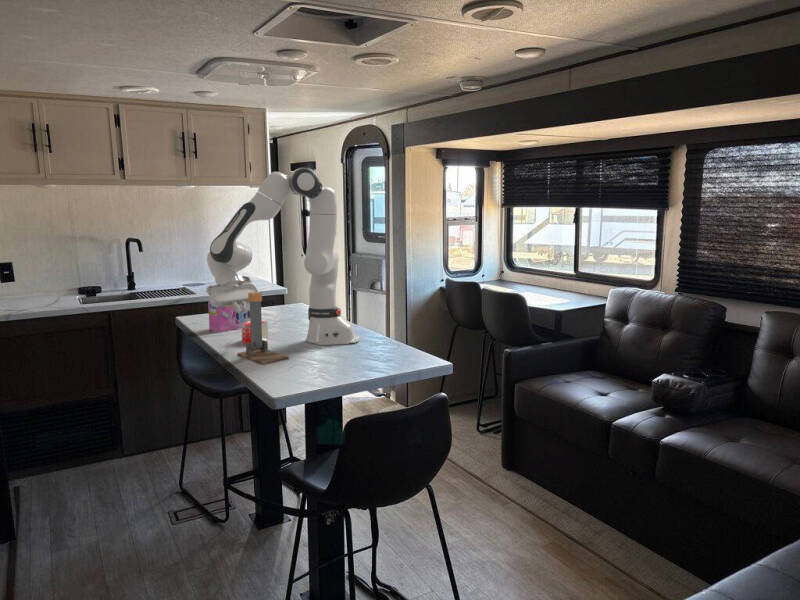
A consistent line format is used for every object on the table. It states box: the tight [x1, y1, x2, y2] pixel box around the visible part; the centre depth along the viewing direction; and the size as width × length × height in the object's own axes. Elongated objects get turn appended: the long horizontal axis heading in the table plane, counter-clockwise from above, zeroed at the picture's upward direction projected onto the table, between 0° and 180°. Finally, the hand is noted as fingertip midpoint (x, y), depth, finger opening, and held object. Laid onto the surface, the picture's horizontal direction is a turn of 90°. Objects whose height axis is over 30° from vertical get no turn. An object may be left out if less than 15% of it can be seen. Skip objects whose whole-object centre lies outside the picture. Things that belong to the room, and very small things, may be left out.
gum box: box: [207, 300, 250, 333], centre depth 275 cm, size 24×8×14 cm, turn 139°
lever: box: [248, 291, 263, 351], centre depth 226 cm, size 4×4×22 cm
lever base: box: [237, 340, 290, 365], centre depth 225 cm, size 18×11×5 cm, turn 45°
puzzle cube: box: [241, 320, 269, 344], centre depth 249 cm, size 8×8×8 cm
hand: (242, 311), depth 232 cm, fingers closed
